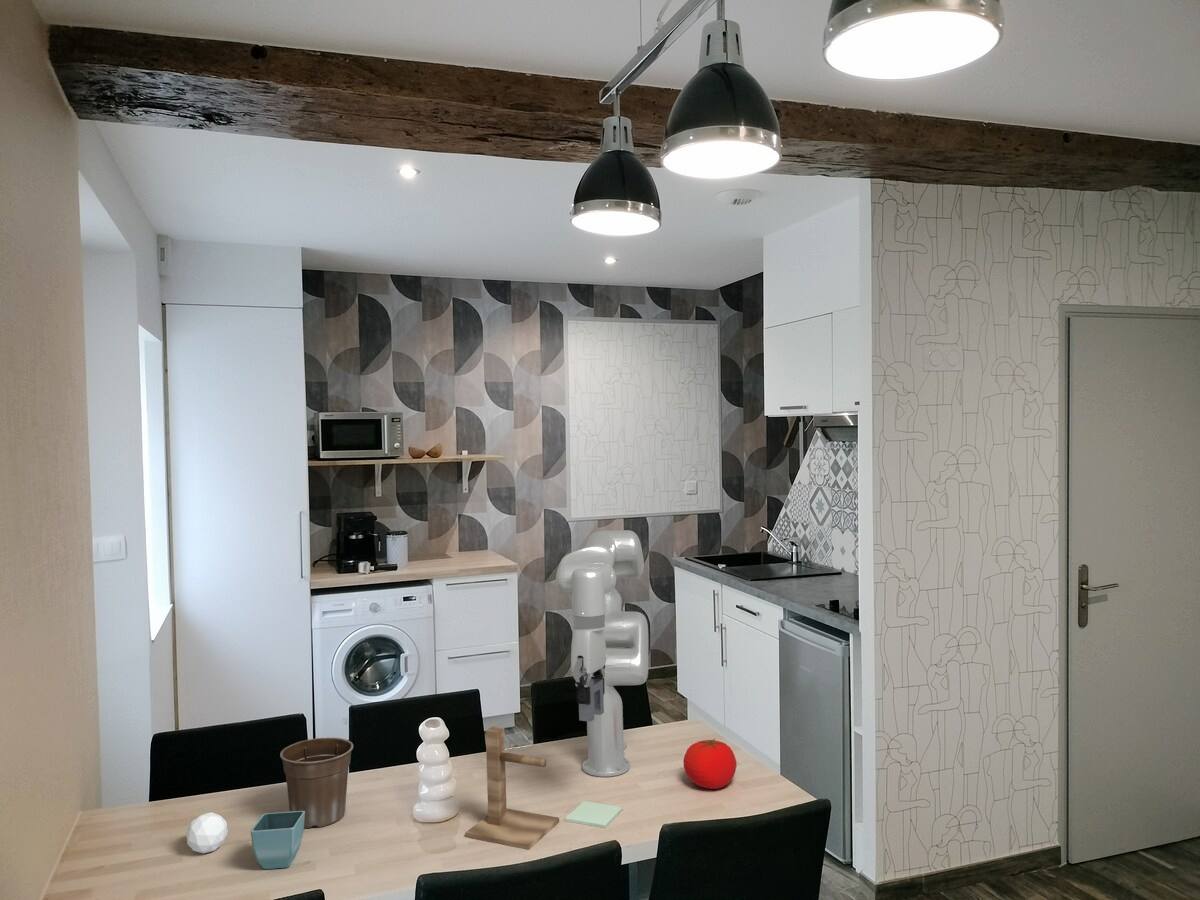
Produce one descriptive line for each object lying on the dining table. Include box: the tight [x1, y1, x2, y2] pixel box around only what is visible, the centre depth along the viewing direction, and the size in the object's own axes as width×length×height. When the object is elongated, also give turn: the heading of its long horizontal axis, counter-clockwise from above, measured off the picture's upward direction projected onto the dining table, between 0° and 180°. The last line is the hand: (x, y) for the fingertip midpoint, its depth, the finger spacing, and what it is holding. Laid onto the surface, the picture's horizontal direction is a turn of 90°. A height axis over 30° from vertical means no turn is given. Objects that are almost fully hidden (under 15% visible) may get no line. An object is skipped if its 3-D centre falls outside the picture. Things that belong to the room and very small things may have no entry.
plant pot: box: [279, 737, 354, 829], centre depth 195 cm, size 16×16×16 cm
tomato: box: [683, 738, 738, 790], centre depth 208 cm, size 12×13×11 cm
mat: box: [564, 800, 624, 829], centre depth 192 cm, size 10×10×1 cm
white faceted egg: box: [186, 811, 229, 854], centre depth 181 cm, size 8×8×12 cm
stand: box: [464, 725, 560, 850], centre depth 186 cm, size 14×16×22 cm
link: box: [578, 678, 604, 722], centre depth 192 cm, size 7×3×8 cm, turn 156°
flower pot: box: [250, 811, 305, 870], centre depth 174 cm, size 9×9×9 cm
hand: (591, 698), depth 192 cm, fingers closed on link, 7 cm apart
